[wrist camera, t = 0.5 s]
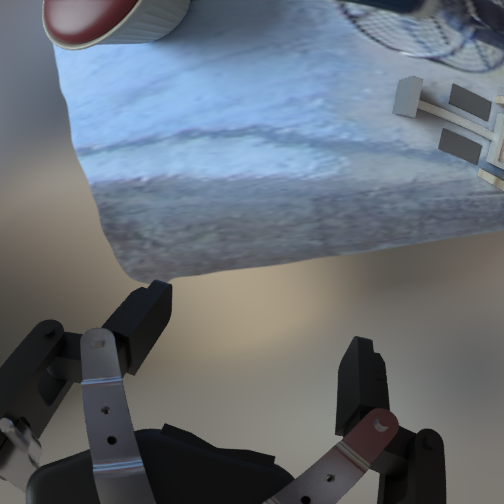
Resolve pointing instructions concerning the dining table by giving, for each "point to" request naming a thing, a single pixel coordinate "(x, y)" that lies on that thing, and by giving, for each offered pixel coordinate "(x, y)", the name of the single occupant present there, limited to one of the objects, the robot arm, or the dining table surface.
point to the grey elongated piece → (448, 117)
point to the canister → (110, 21)
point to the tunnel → (486, 175)
